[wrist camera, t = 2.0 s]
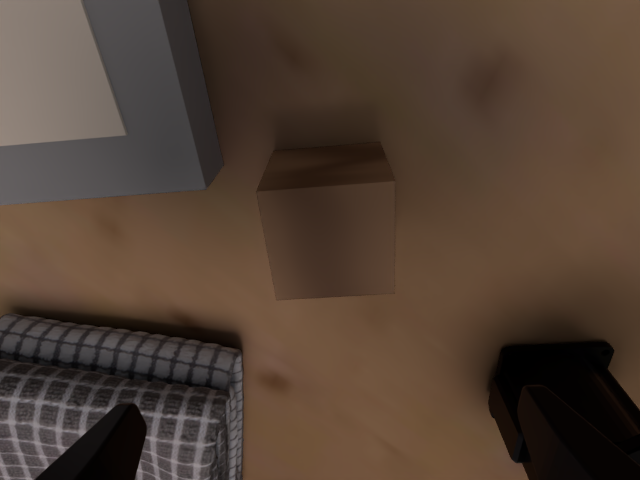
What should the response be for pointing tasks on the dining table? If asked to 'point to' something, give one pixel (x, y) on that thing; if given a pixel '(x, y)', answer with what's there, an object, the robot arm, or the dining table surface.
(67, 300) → the dining table surface
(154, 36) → the pedestal
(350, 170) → the walnut cube
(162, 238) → the dining table surface
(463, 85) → the dining table surface
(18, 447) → the towel
